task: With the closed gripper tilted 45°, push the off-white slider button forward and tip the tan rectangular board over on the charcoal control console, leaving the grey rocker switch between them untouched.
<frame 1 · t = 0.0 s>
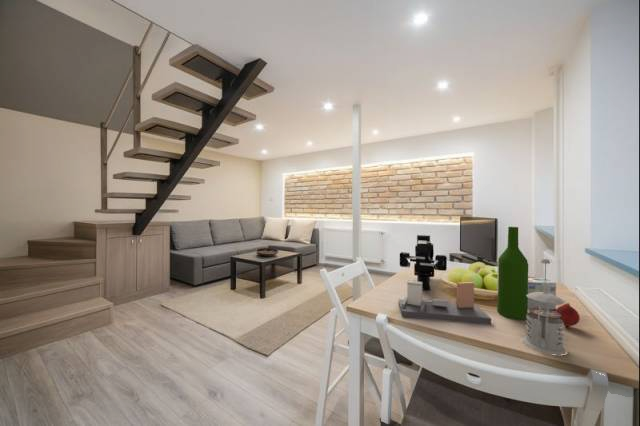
hand: (421, 265, 100), 17 cm above the table, tool horizontal, fingers open, 9 cm apart
wine bottle: (511, 315, 92), on the table
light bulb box: (535, 306, 101), on the table
tan rectangular board: (465, 295, 93), point 7 cm above the table, hinge at 0.0°
slider button: (414, 292, 97), point 6 cm above the table, slide at 0.0 cm
control console: (440, 313, 93), on the table
rocker switch: (440, 302, 94), point 4 cm above the table, hinge at -15.0°
onion: (566, 327, 83), on the table
french press: (543, 347, 71), on the table
bread roll: (532, 295, 114), on the table
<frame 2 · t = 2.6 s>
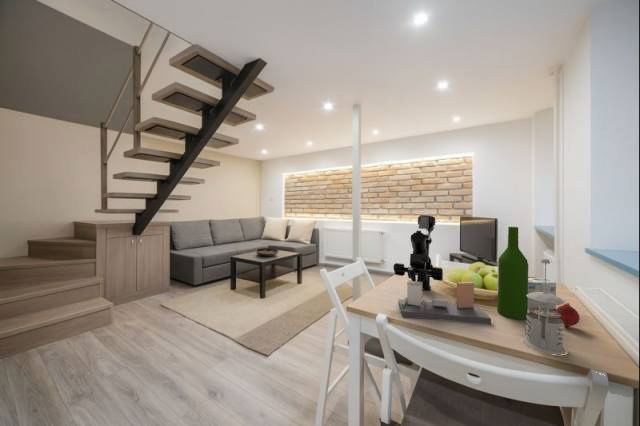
hand: (415, 289, 98), 7 cm above the table, tool tilted 45°, fingers closed, pressing on slider button
slider button: (414, 293, 96), point 6 cm above the table, slide at 0.2 cm, touching gripper
everything else where it was.
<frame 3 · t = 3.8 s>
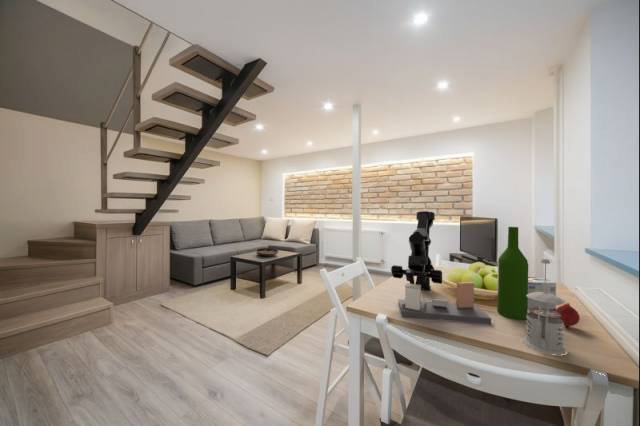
hand: (413, 293, 94), 7 cm above the table, tool tilted 45°, fingers closed, pressing on slider button
slider button: (413, 296, 93), point 6 cm above the table, slide at 4.5 cm, touching gripper
everything else where it was.
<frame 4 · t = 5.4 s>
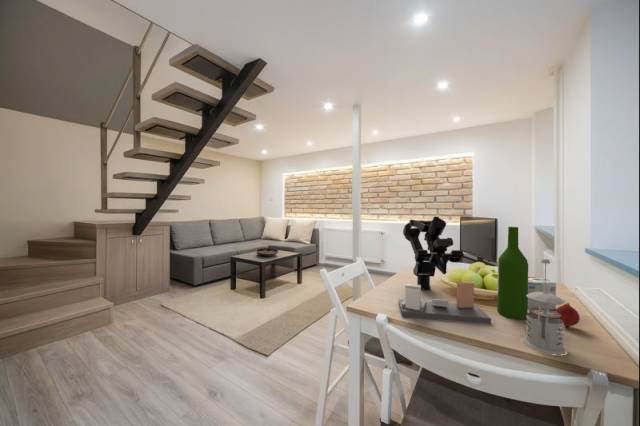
hand: (444, 273, 100), 13 cm above the table, tool tilted 45°, fingers closed
slider button: (413, 296, 93), point 6 cm above the table, slide at 4.5 cm
everything else where it was.
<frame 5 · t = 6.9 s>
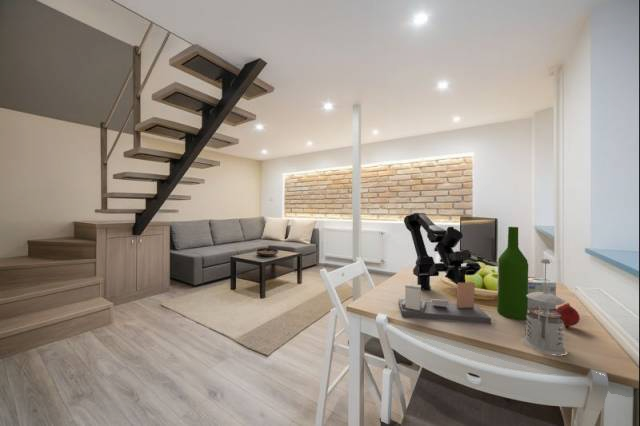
hand: (464, 289, 93), 9 cm above the table, tool tilted 45°, fingers closed, pressing on tan rectangular board
tan rectangular board: (465, 295, 93), point 7 cm above the table, hinge at 2.2°, touching gripper
everything else where it was.
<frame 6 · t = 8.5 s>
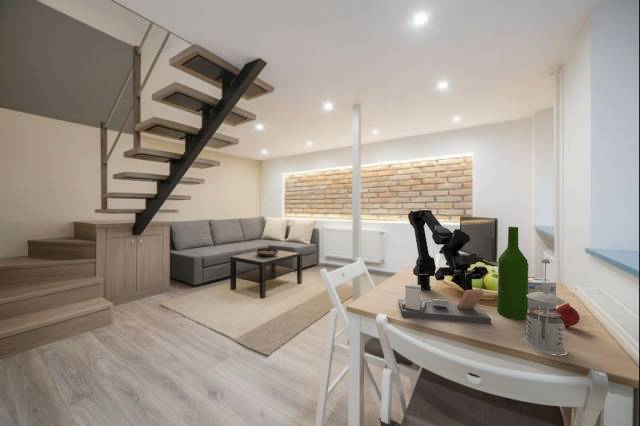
hand: (471, 294, 90), 8 cm above the table, tool tilted 45°, fingers closed, pressing on tan rectangular board
tan rectangular board: (469, 299, 90), point 6 cm above the table, hinge at 31.6°, touching control console, gripper
everything else where it was.
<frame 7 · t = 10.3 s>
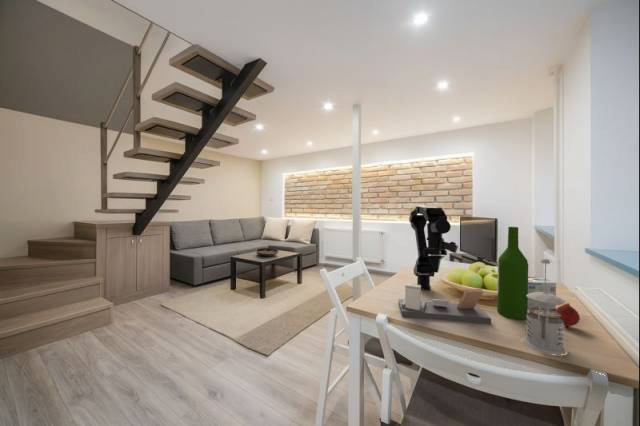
hand: (436, 272, 105), 12 cm above the table, tool pointing down, fingers closed
tan rectangular board: (469, 299, 91), point 6 cm above the table, hinge at 30.2°, touching control console
everything else where it was.
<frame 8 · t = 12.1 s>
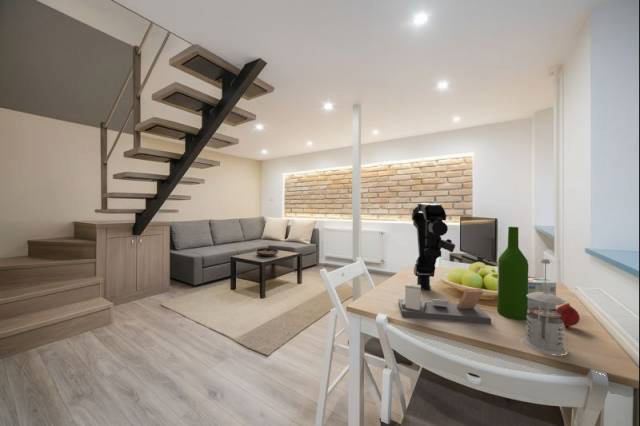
hand: (432, 269, 107), 13 cm above the table, tool pointing down, fingers closed
nothing on the table moved.
at the end: slider button slide at 4.5 cm; tan rectangular board at +30° (first picture: +0°); rocker switch at -15° (first picture: -15°) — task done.
